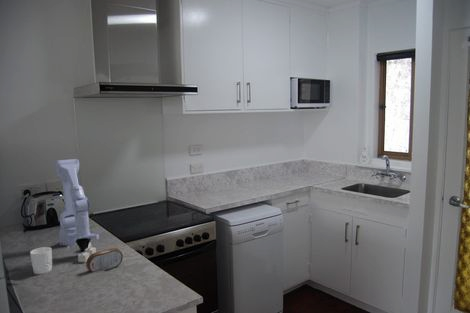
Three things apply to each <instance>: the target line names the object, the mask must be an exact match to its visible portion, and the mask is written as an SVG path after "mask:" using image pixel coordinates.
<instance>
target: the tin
mask: <svg viewBox="0 0 470 313" xmlns="http://www.w3.org/2000/svg"><path fill="white" fill-rule="evenodd" d="M123 259H124V258H123V253H122V251H121V250H120V249H119V248H117V247H116V248H115V247H112V248H108V249H104V250H100V251H96V253H93V254H92V255H90V256H89V258H88V259H87V262H85V265H86V268H87V269H88V271H89V272H91V273H94V272H97V271H100V270H103V269H104V270H103V272H105V271H109V270H112V269H115V268H117V267H119V266H120V265H121V263H122V262H123Z"/></svg>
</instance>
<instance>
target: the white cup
mask: <svg viewBox="0 0 470 313" xmlns="http://www.w3.org/2000/svg"><path fill="white" fill-rule="evenodd" d="M29 253H30V259H31V265H32V271H33V274H35V275H43V274H47V273H49V272H50V271H52V270H53V250H52V247H50V246H41V247H37V248H34V249H32V250H30V252H29Z"/></svg>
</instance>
